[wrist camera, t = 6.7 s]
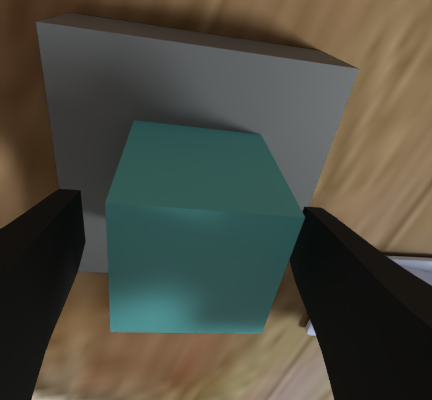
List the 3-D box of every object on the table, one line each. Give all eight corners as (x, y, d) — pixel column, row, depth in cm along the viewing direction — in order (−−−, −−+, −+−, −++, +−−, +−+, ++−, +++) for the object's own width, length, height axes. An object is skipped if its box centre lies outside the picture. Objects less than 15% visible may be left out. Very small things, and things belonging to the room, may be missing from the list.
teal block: (261, 134, 12) (305, 217, 8) (237, 231, 14) (261, 333, 10) (134, 120, 11) (104, 202, 7) (132, 224, 13) (110, 331, 9)
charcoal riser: (321, 50, 14) (358, 69, 11) (266, 234, 19) (282, 279, 16) (71, 12, 12) (35, 21, 9) (89, 223, 17) (70, 271, 15)
